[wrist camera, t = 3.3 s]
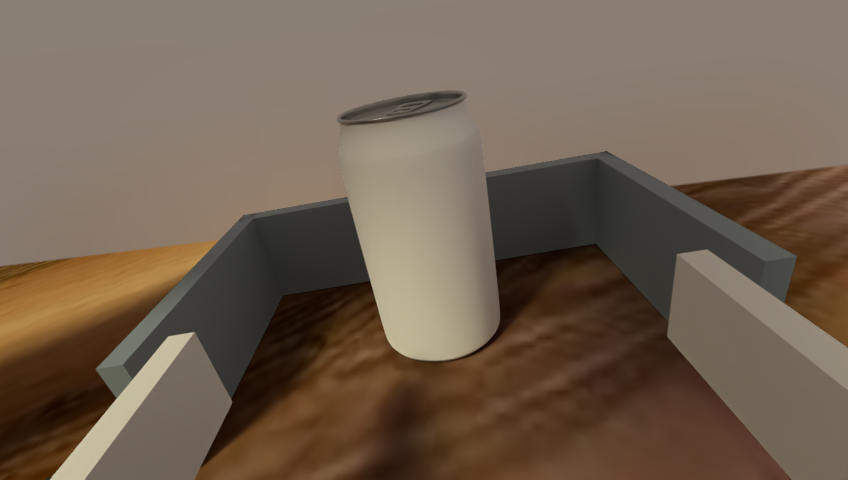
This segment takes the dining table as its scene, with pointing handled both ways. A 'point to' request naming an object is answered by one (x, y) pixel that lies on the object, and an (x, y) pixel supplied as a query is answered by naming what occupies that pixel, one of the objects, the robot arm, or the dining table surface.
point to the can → (423, 221)
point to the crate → (512, 236)
